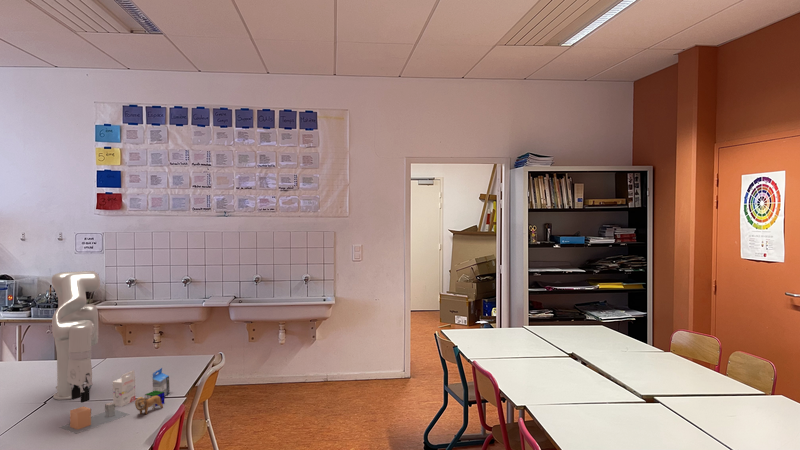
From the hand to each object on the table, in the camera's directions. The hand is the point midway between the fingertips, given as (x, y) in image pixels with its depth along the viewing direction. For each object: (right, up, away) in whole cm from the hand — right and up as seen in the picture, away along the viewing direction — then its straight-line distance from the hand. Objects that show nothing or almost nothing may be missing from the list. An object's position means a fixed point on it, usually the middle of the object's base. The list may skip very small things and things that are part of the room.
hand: (80, 399), depth 204 cm
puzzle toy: (+18, -11, +25) cm, 32 cm away
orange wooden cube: (0, -11, 0) cm, 11 cm away
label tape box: (+15, -11, +36) cm, 41 cm away
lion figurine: (+20, -12, +15) cm, 28 cm away
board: (+3, -11, +5) cm, 13 cm away
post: (+6, -11, +11) cm, 16 cm away
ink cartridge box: (+4, -11, +26) cm, 28 cm away
